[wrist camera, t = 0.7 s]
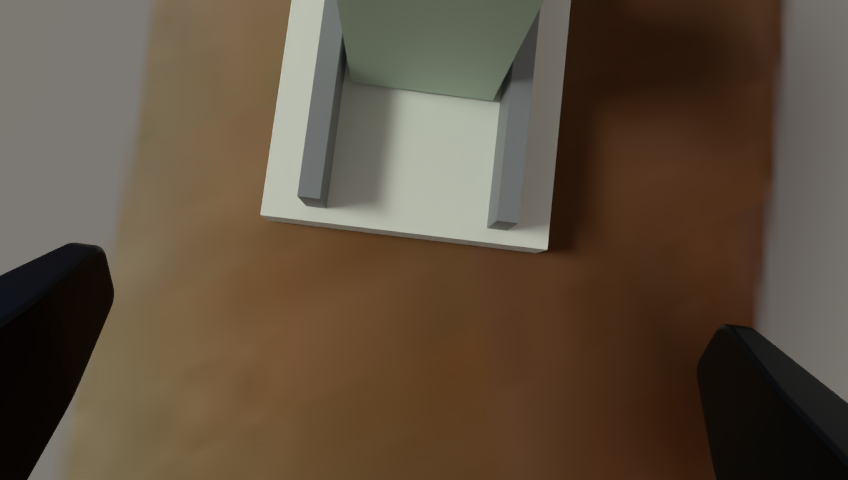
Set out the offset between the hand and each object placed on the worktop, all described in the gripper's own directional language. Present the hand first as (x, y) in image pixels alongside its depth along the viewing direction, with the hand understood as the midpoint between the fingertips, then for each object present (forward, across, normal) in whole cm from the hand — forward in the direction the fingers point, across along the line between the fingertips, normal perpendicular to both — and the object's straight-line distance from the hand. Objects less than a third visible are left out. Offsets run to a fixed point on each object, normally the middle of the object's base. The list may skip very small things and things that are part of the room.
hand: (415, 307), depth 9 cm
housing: (+16, 0, +2) cm, 17 cm away
